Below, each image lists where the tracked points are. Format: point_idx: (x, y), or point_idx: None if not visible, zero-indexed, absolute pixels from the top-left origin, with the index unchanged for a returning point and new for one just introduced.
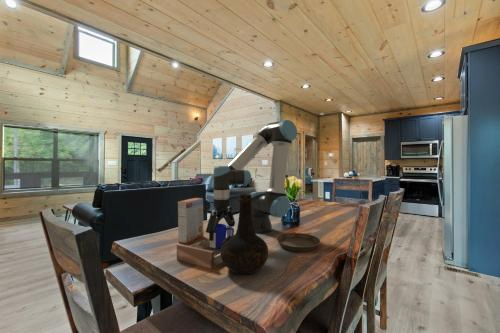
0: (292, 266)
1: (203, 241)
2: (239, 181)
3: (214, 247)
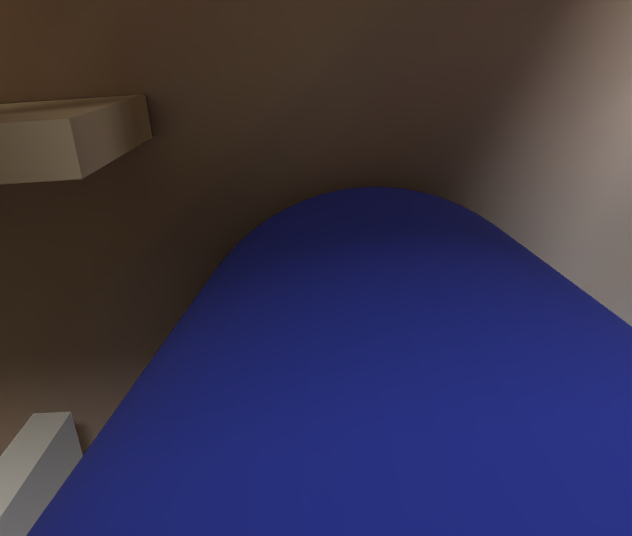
0: None
1: (6, 177)
2: None
3: None
